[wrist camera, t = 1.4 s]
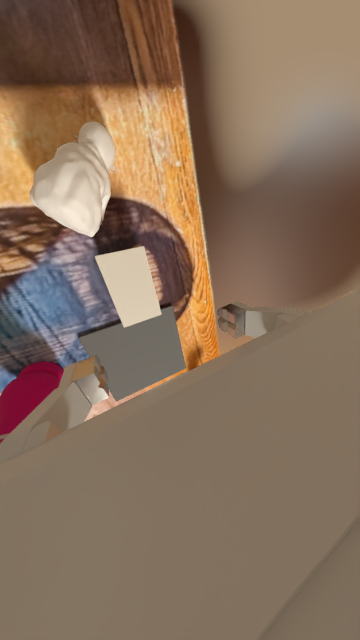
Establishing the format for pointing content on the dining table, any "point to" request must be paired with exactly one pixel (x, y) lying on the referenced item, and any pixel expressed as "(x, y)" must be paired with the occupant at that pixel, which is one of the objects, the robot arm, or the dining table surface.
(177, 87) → the dining table surface
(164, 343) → the mat
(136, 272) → the stool
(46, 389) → the pepper mill
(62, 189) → the white lumpy piece
